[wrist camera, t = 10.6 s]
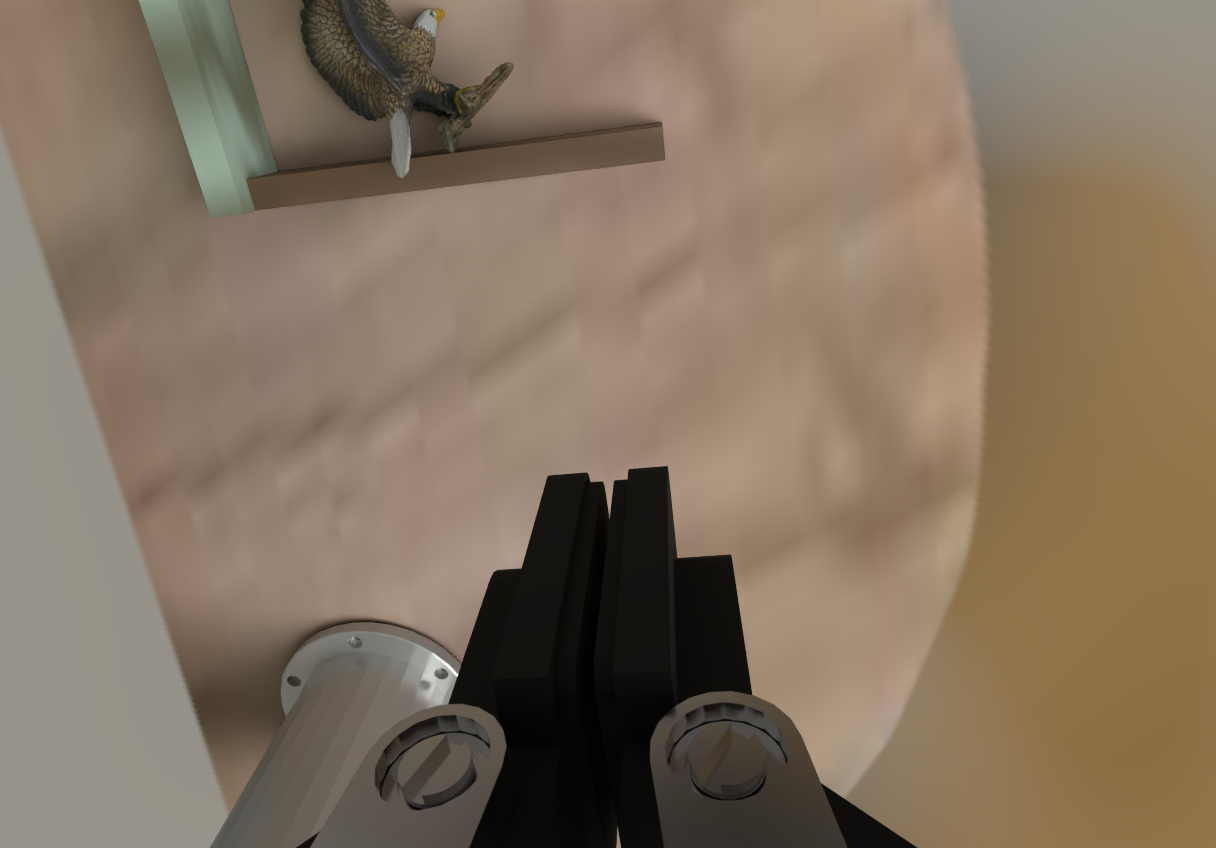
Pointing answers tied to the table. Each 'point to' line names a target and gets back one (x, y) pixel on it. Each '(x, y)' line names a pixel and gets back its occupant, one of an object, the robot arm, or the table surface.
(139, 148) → the table surface
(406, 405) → the table surface
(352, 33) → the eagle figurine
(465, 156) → the walnut guide
